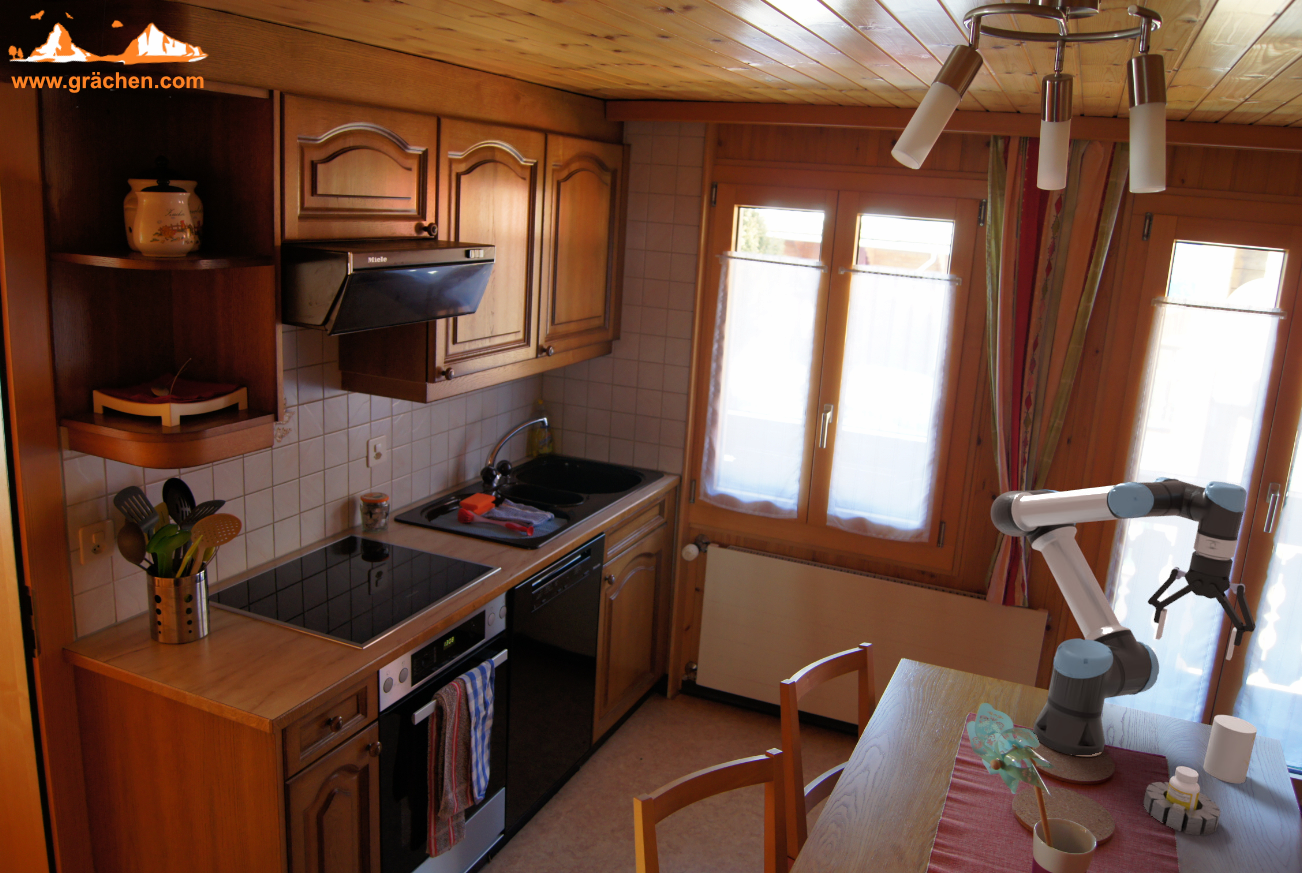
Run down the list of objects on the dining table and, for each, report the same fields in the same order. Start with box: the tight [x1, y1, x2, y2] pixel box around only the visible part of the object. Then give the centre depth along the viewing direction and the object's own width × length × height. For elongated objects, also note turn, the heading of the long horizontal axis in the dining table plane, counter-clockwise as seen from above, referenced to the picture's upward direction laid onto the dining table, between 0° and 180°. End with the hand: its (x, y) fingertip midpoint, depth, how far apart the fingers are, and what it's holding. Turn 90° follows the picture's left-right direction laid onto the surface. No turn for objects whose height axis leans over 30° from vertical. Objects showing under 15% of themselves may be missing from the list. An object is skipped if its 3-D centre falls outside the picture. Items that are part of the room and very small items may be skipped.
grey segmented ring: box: [1143, 781, 1221, 836], centre depth 189 cm, size 13×13×4 cm
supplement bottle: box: [1166, 765, 1201, 811], centre depth 189 cm, size 5×5×10 cm
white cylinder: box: [1203, 714, 1258, 784], centre depth 208 cm, size 8×8×12 cm
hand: (1192, 647), depth 203 cm, fingers open, 13 cm apart
